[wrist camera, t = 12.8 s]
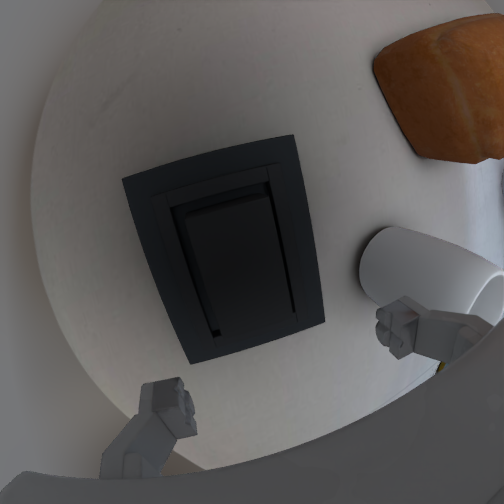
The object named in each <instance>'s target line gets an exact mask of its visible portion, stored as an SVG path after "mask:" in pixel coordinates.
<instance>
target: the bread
mask: <svg viewBox="0 0 504 504" xmlns="http://www.w3.org/2000/svg"><path fill="white" fill-rule="evenodd" d="M374 72H375V75H376V77H377V80H378V82H379V85H380V87H381V89H382V91H383V93H384V95H385V97H386V100H387V102H388V104H389V106H390V108H391V110H392V112H393V113H394V115H395V117H396V119H397V121H398V123H399V125H400V127H401V129H402V131H403V133H404V134H405V136H406V137H407V138H408V140H409V141H410V143H411V144H412V146H413V147H414V149H415V151H416V152H417V154H419V155H420V156H423V157H426V158H429V159H435V160H444V161H452V162H459V163H469V164H477V163H479V162H481V161H484V160H486V159H488V158H493V159H498V160H500V159H502V158H504V15H502V14H499V13H491V14H483V15H476V16H470V17H464V18H460V19H457V20H454V21H450V22H447V23H443V24H440V25H437V26H434V27H431V28H428V29H425V30H422V31H419V32H416V33H413V34H410V35H408V36H406V37H404V38H402V39H400V40H398V41H396V42H394V43H392V44H390V45H389V46H387V47H385V48H384V49H383V50H382V51H381V52H380V53H379V55H378V56H377V57H376V58H375V60H374Z"/></svg>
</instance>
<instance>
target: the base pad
mask: <svg viewBox="0 0 504 504" xmlns="http://www.w3.org/2000/svg"><path fill="white" fill-rule="evenodd" d="M122 182H123V186H124V189H125V193H126V196H127V200H128V203H129V207H130V210H131V213H132V217H133V220H134V223H135V226H136V229H137V232H138V235H139V238H140V241H141V244H142V247H143V250H144V253H145V256H146V259H147V262H148V264H149V267H150V270H151V273H152V275H153V278H154V281H155V283H156V286H157V288H158V291H159V294H160V296H161V299H162V301H163V304H164V306H165V308H166V311H167V313H168V316H169V318H170V320H171V323H172V325H173V327H174V330H175V332H176V334H177V337H178V339H179V341H180V343H181V345H182V348H183V350H184V352H185V354H186V356H187V358H188V360H189V363H190V364H195V363H199V362H203V361H207V360H210V359H214V358H218V357H221V356H225V355H228V354H232V353H235V352H238V351H242V350H245V349H248V348H252V347H255V346H258V345H261V344H264V343H267V342H270V341H273V340H276V339H279V338H282V337H285V336H288V335H291V334H294V333H297V332H299V331H302V330H305V329H308V328H310V327H313V326H316V325H319V324H321V323H324V322H325V315H324V307H323V299H322V291H321V283H320V276H319V269H318V262H317V255H316V249H315V242H314V236H313V230H312V224H311V219H310V213H309V207H308V202H307V196H306V191H305V186H304V181H303V176H302V171H301V166H300V161H299V157H298V152H297V147H296V143H295V138H294V135H287V136H281V137H276V138H270V139H265V140H260V141H255V142H250V143H246V144H241V145H237V146H232V147H228V148H224V149H220V150H216V151H212V152H208V153H204V154H200V155H196V156H193V157H189V158H186V159H182V160H179V161H175V162H172V163H168V164H165V165H162V166H159V167H155V168H152V169H149V170H146V171H143V172H140V173H137V174H134V175H131V176H128V177H125V178H123V179H122ZM256 193H261V194H263V195H266V196H269V198H270V203H271V207H272V212H273V216H274V221H275V226H276V230H277V235H278V240H279V245H280V250H281V255H282V259H283V264H284V269H285V274H286V279H287V284H288V290H289V295H290V300H291V305H292V310H293V316H294V317H293V318H290V319H287V320H284V321H281V322H278V323H275V324H272V325H269V326H266V327H263V328H260V329H256V330H253V331H250V332H247V333H244V334H240V335H237V336H234V337H230V338H227V339H223V337H222V335H221V332H220V329H219V326H218V323H217V320H216V318H215V315H214V312H213V309H212V306H211V303H210V300H209V297H208V294H207V291H206V288H205V285H204V282H203V279H202V276H201V273H200V270H199V267H198V263H197V260H196V257H195V254H194V251H193V247H192V244H191V241H190V237H189V234H188V231H187V227H186V224H185V213H187V212H190V211H193V210H197V209H200V208H204V207H207V206H211V205H214V204H218V203H222V202H225V201H229V200H233V199H236V198H240V197H244V196H248V195H252V194H256Z"/></svg>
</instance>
